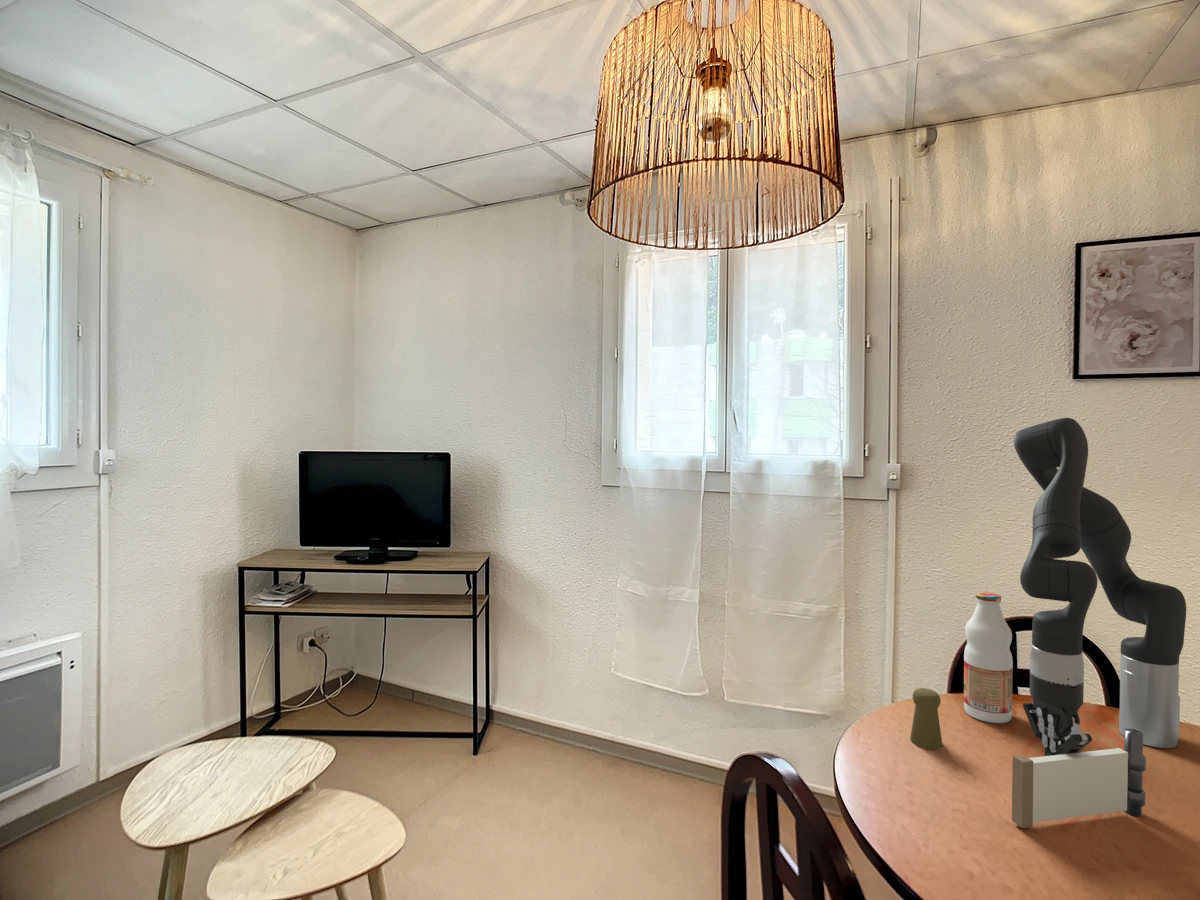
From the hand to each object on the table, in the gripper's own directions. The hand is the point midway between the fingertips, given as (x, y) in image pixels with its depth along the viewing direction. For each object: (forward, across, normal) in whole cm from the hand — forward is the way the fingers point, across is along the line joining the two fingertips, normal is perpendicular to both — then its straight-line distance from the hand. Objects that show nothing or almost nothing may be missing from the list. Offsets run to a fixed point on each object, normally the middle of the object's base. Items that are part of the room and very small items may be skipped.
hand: (1054, 770), depth 108 cm
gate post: (+6, +3, +11) cm, 13 cm away
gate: (+6, +4, -1) cm, 7 cm away
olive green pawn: (+7, -22, -10) cm, 25 cm away
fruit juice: (+7, -33, +11) cm, 36 cm away
